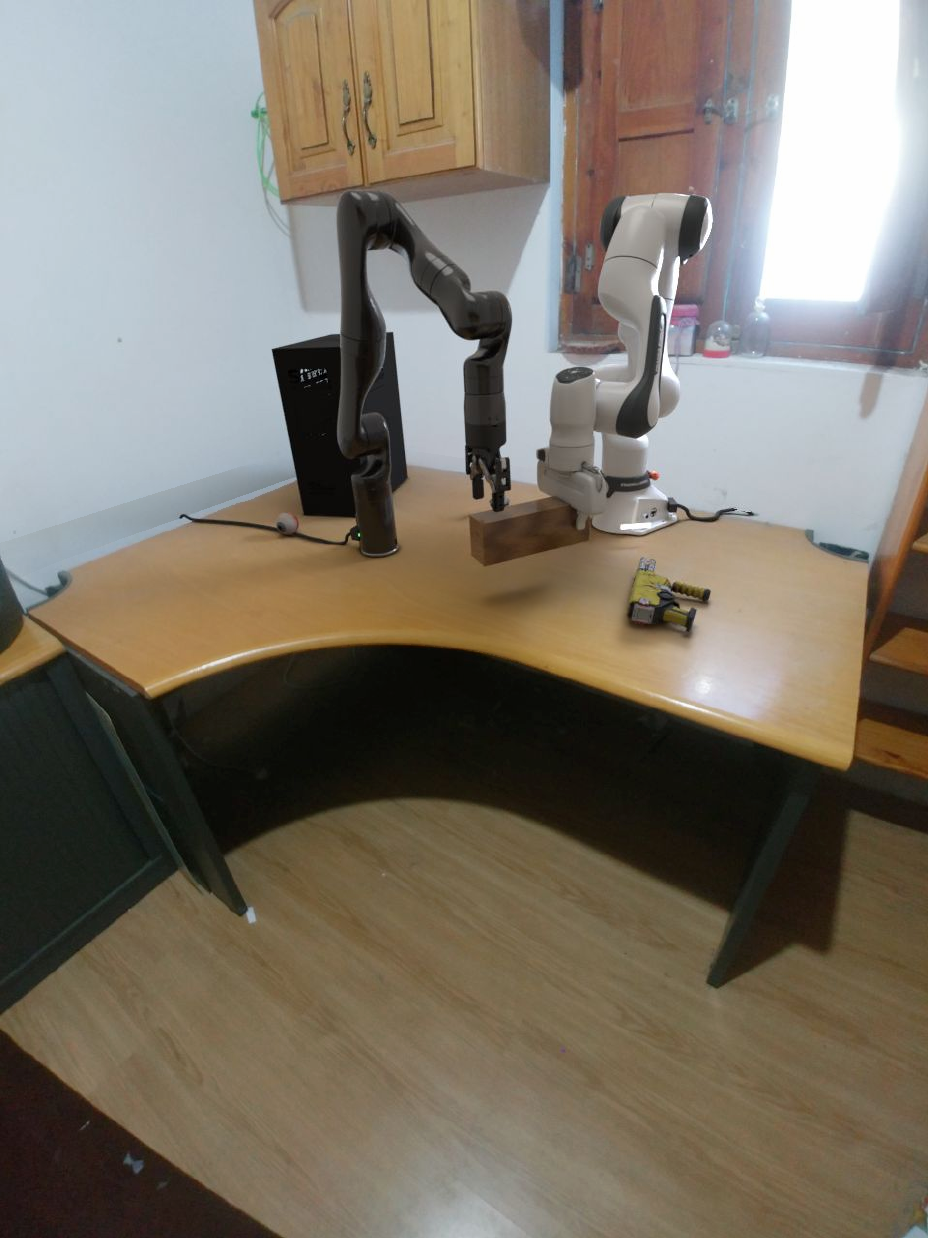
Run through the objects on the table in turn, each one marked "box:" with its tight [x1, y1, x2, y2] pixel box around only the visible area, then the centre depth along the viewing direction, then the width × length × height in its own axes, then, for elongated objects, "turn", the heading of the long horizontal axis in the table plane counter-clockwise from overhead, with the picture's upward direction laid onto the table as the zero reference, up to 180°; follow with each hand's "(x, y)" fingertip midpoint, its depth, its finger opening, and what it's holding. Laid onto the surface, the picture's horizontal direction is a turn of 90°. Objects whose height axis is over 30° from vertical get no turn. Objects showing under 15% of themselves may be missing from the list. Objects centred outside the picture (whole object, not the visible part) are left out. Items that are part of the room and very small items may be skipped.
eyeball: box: [275, 511, 300, 536], centre depth 163 cm, size 6×6×6 cm
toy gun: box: [626, 557, 712, 633], centre depth 120 cm, size 5×24×15 cm
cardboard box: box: [271, 331, 409, 517], centre depth 180 cm, size 38×20×45 cm, turn 167°
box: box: [468, 496, 591, 568], centre depth 123 cm, size 25×6×9 cm, turn 115°
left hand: (488, 504), depth 116 cm, fingers open, 8 cm apart
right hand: (568, 522), depth 126 cm, fingers closed on box, 6 cm apart
